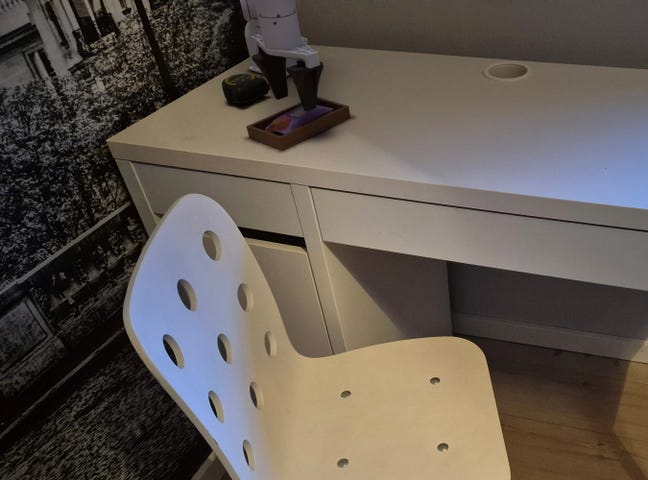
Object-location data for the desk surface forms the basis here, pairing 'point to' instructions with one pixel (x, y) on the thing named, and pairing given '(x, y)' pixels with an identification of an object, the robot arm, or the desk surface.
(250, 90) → the tape measure
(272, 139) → the tray
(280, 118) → the snack package
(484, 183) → the desk surface
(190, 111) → the desk surface
